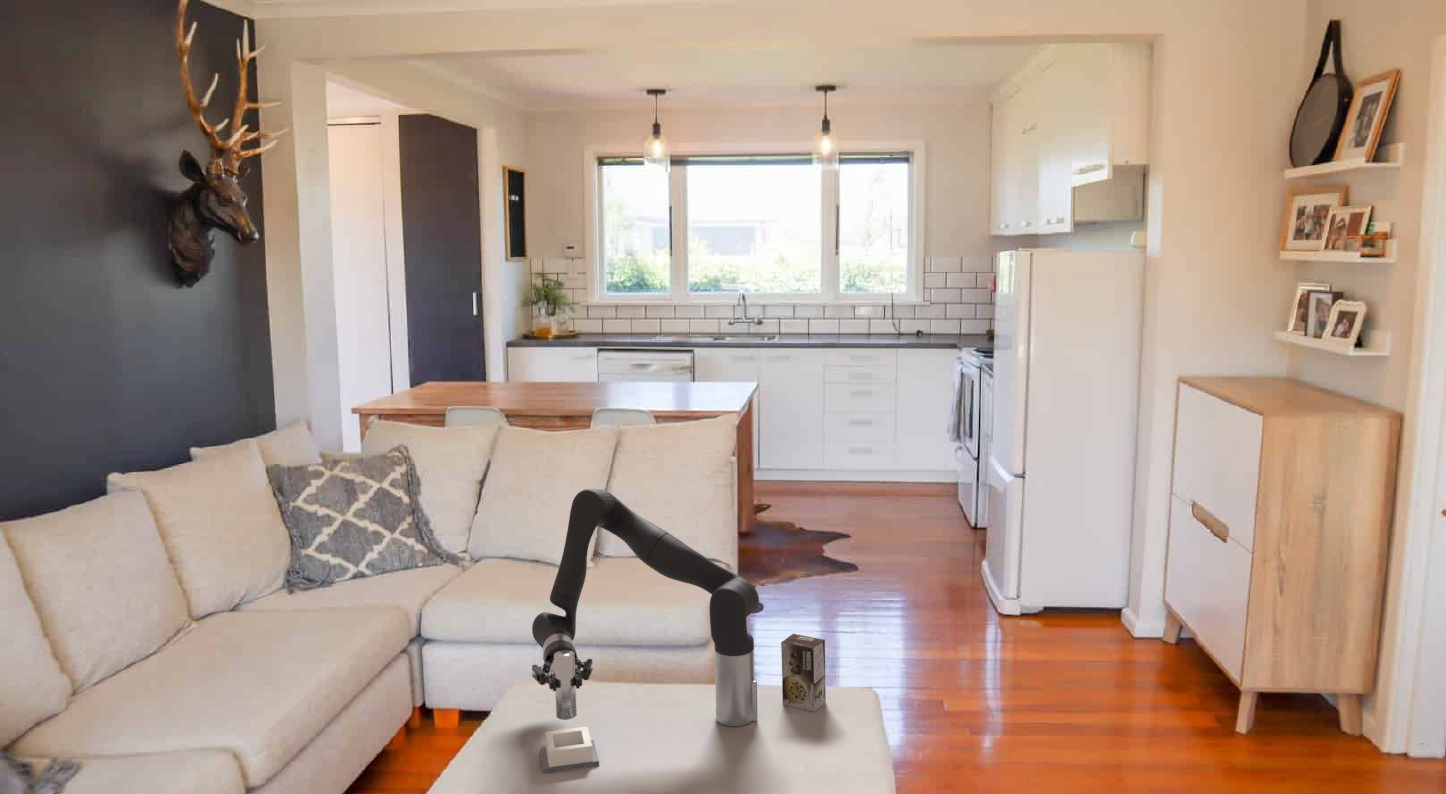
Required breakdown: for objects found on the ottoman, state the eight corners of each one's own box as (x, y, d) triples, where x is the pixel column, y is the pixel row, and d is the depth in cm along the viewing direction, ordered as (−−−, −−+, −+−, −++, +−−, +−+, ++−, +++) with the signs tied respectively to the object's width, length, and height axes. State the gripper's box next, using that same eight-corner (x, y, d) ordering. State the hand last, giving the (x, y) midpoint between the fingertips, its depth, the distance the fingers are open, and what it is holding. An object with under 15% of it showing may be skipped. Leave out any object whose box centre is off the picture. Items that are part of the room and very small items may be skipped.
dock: (593, 743, 231) (593, 725, 231) (599, 765, 222) (598, 745, 221) (540, 750, 229) (539, 731, 228) (543, 772, 219) (542, 753, 218)
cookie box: (826, 702, 250) (826, 639, 248) (814, 712, 245) (814, 648, 242) (793, 694, 255) (793, 632, 253) (781, 704, 250) (780, 641, 247)
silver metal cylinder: (575, 709, 226) (573, 649, 224) (577, 718, 222) (575, 656, 220) (555, 711, 225) (553, 651, 223) (557, 720, 221) (554, 659, 219)
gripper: (527, 642, 234) (531, 672, 218) (590, 636, 237) (599, 665, 221) (529, 673, 235) (533, 706, 219) (591, 666, 239) (600, 698, 222)
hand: (566, 685), depth 220 cm, fingers closed on silver metal cylinder, 4 cm apart
